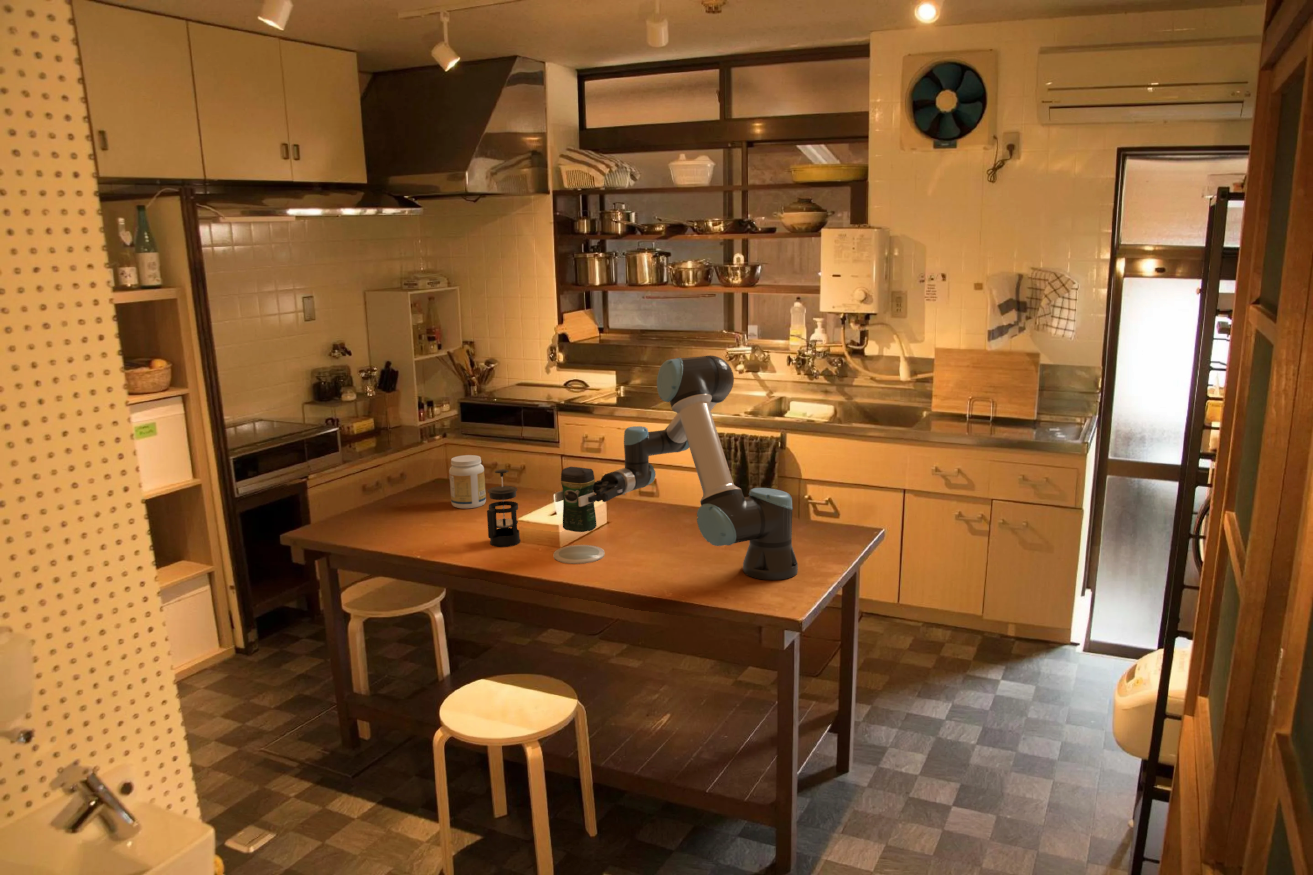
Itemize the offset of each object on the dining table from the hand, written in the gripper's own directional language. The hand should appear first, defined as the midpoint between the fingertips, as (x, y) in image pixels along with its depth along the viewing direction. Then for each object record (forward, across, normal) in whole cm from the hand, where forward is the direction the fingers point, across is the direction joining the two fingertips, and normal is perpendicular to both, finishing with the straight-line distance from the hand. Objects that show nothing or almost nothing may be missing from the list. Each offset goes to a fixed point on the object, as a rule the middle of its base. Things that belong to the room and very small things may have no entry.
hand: (567, 499), depth 275 cm
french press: (0, +27, -18) cm, 32 cm away
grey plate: (-4, 0, -18) cm, 18 cm away
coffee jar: (-5, 0, -10) cm, 11 cm away
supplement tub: (-23, +69, -18) cm, 75 cm away
